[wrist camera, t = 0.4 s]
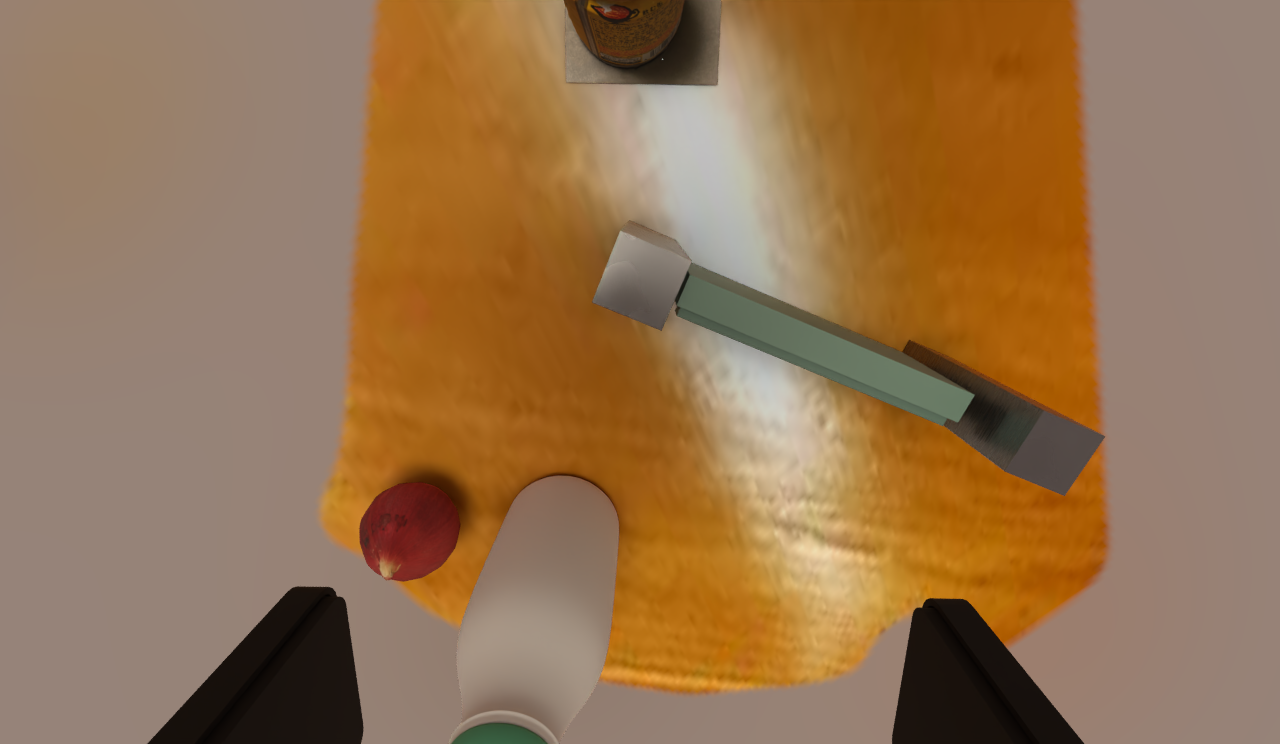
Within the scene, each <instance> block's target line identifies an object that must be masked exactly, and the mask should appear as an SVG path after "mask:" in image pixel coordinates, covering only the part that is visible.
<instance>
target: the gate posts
mask: <svg viewBox="0 0 1280 744" xmlns="http://www.w3.org/2000/svg"><path fill="white" fill-rule="evenodd" d="M691 262H692V261H691V259H690V258H689V257H688V255H687V254H686V253H685V252H684V250H683V249H682V248H681V246H680V245H679V244H678V243H677V241H676V240H674V239H672V238H670V237H667V236H665V235H663V234H660V233H658V232H656V231H653V230H651V229H648V228H646V227H644V226H641V225H639V224H637V223H634V222H632V221H630V220H629V221H628V223H627V224H626V225H625V226H624V227H623V228H622V229H621V230H620V233H619V235H618V238H617V240H616V243H615V245H614V248H613V250H612V253H611V255H610V258H609V261H608V263H607V266H606V268H605V271H604V273H603V276H602V278H601V281H600V283H599V286H598V288H597V291H596V293H595V296H594V299H593V301H592V302H593V303H595V304H598V305H600V306H602V307H605V308H607V309H610V310H612V311H615V312H617V313H620V314H622V315H624V316H627V317H629V318H632V319H634V320H637V321H639V322H642V323H644V324H646V325H649V326H651V327H654V328H656V329H659V330H661V331H662V328H663V326H664V324H665V322H666V319H667V317H668V315H669V312H670V310H671V308H672V305H673V303H674V301H675V298H676V296H677V294H678V292H679V289H680V287H681V285H682V282H683V280H684V278H685V275H686V273H687V271H688V268H689V266H690V264H691ZM903 353H905V354H906V355H908V356H910V357H911V358H913V359H915V360H916V361H918V362H920V363H922V364H923V365H925V366H927V367H928V368H930V369H932V370H933V371H935V372H937V373H939V374H940V375H942V376H944V377H945V378H947V379H949V380H951V381H952V382H954V383H956V384H957V385H959V386H961V387H962V388H964V389H966V390H968V391H969V392H971V393H973V394H974V397H973V399H972V400H971V402H970V404H969V405H968V407H967V409H966V410H965V412H964V414H963V415H962V417H961V419H960V420H959V422H955V421H953V420H951V419H948V418H947V420H946V421H945V423H944V426H945V427H946V428H948V429H949V430H950V431H952V432H953V433H954V434H956V435H957V436H958V437H960V438H961V439H962V440H964V441H965V442H966V443H968V444H969V445H970V446H972V447H973V448H974V449H976V450H977V451H978V452H980V453H981V454H982V455H984V456H985V457H986V458H988V459H989V460H990V461H992V462H993V463H994V464H996V465H997V466H998V467H1000V468H1001V469H1002V470H1004V471H1005V472H1008V473H1010V474H1013V475H1015V476H1017V477H1020V478H1022V479H1025V480H1027V481H1030V482H1032V483H1035V484H1037V485H1039V486H1042V487H1044V488H1047V489H1049V490H1052V491H1054V492H1057V493H1059V494H1061V495H1064V496H1065V494H1066V493H1067V491H1068V490H1069V489H1070V487H1071V486H1072V484H1073V483H1074V481H1075V480H1076V478H1077V477H1078V475H1079V474H1080V473H1081V471H1082V470H1083V468H1084V467H1085V465H1086V464H1087V462H1088V461H1089V459H1090V458H1091V456H1092V455H1093V454H1094V452H1095V451H1096V449H1097V448H1098V446H1099V445H1100V443H1101V442H1102V440H1103V439H1104V438H1105V436H1103V435H1101V434H1099V433H1097V432H1096V431H1094V430H1092V429H1090V428H1088V427H1086V426H1084V425H1082V424H1080V423H1078V422H1076V421H1074V420H1072V419H1070V418H1068V417H1066V416H1064V415H1062V414H1060V413H1058V412H1056V411H1054V410H1052V409H1050V408H1049V407H1047V406H1045V405H1043V404H1041V403H1039V402H1037V401H1035V400H1033V399H1031V398H1029V397H1027V396H1025V395H1023V394H1021V393H1019V392H1017V391H1015V390H1013V389H1011V388H1009V387H1007V386H1005V385H1004V384H1002V383H1000V382H998V381H996V380H994V379H992V378H990V377H988V376H986V375H984V374H982V373H980V372H978V371H976V370H974V369H972V368H970V367H968V366H966V365H964V364H962V363H960V362H958V361H957V360H955V359H953V358H951V357H948V356H946V355H944V354H941V353H939V352H936V351H934V350H932V349H929V348H927V347H925V346H922V345H920V344H918V343H915V342H913V341H911V340H909V342H908V344H907V345H906V347H905V349H904V351H903Z"/></svg>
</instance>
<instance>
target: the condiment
mask: <svg viewBox="0 0 1280 744" xmlns="http://www.w3.org/2000/svg"><path fill="white" fill-rule="evenodd" d="M564 3H565V36H566V43H565V44H566V45H565V49H566V82H577V83H618V84H625V83H628V84H681V85H684V84H705V85H717V84H718V60H719V38H720V17H721V0H564ZM662 58H663V59H664V60H662Z"/></svg>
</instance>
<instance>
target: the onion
mask: <svg viewBox="0 0 1280 744" xmlns="http://www.w3.org/2000/svg"><path fill="white" fill-rule="evenodd" d="M459 530H460V521H459V516H458V512H457V508H456V507H455V506H454V504H453V503H452V501H451V500H450V498H449V496H448V495H447V494H446V493H445V492H443V491H442V490H440V489H439V488H438V487H436V486H433V485H430V484H426V483H423V482H418V483H403V484H398V485H396V486H394V487H392V488H389V489H387V490H385V491H383V492H382V493H381V494H379V495H378V496H377V497H376V498H375V499H374V501H373V502H372V504H371V505H370V506H369V508H368V509H367V511H366V512H365V514H364V516H363V517H362V519H361V523H360V545H361V548H362V551H363V554H364V557H365V560H366V562H367V564H368V566H369V567H370V568H371V569H373V570H374V571H375V572H376V573H377V574H379V575H381V576H382V577H384V579H385V580H390V579H392V580H397V581H408V580H413V579H418V578H422V577H424V576H426V575H428V574H429V573H431V572H433V571H434V570H436V569H437V568H439V567H441V566H442V564H443V563H444V562H445V561H446V560H447V559H448V557H449V556H450V554H451V553H452V552H453V550H454V549H455V547H456V543H457V540H458V535H459Z"/></svg>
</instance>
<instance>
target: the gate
mask: <svg viewBox="0 0 1280 744" xmlns="http://www.w3.org/2000/svg"><path fill="white" fill-rule="evenodd" d="M675 302H676V305H677V308H676V310H675V311H676V315H677V316H678V317H681V318H683V319H685V320H688V321H690V322H693V323H695V324H698V325H700V326H702V327H705V328H707V329H710V330H712V331H714V332H717V333H719V334H722V335H724V336H727V337H729V338H731V339H734V340H736V341H739V342H741V343H743V344H746V345H748V346H751V347H753V348H756V349H758V350H760V351H763V352H765V353H768V354H770V355H773V356H775V357H777V358H780V359H782V360H785V361H787V362H789V363H792V364H794V365H797V366H799V367H802V368H804V369H806V370H809V371H811V372H814V373H816V374H818V375H821V376H823V377H826V378H828V379H831V380H833V381H835V382H838V383H840V384H843V385H845V386H847V387H850V388H852V389H855V390H857V391H860V392H862V393H864V394H867V395H869V396H872V397H874V398H877V399H879V400H881V401H884V402H886V403H889V404H891V405H893V406H896V407H898V408H901V409H903V410H906V411H908V412H910V413H913V414H915V415H918V416H920V417H922V418H925V419H927V420H930V421H932V422H935V423H937V424H939V425H942V426H943V425H944V423H945V421H946V420H947V418H948V419H951V420H953V421H955V422H959V420H960V419H961V417H962V415H963V414H964V412H965V410H966V409H967V407H968V405H969V404H970V402H971V400H972V399H973V397H974V394H973V393H971V392H969V391H968V390H966V389H964V388H962V387H961V386H959V385H957V384H956V383H954V382H952V381H951V380H949V379H947V378H945V377H944V376H942V375H940V374H939V373H937V372H935V371H933V370H932V369H930V368H928V367H927V366H925V365H923V364H922V363H920V362H918V361H916V360H915V359H913V358H911V357H910V356H908V355H906V354H905V353H903V352H900V351H898V350H896V349H893V348H891V347H889V346H886V345H884V344H882V343H879V342H877V341H874V340H872V339H870V338H867V337H865V336H863V335H860V334H858V333H856V332H853V331H851V330H849V329H846V328H844V327H841V326H839V325H837V324H834V323H832V322H830V321H827V320H825V319H823V318H820V317H818V316H816V315H813V314H811V313H808V312H806V311H804V310H801V309H799V308H797V307H794V306H792V305H790V304H787V303H785V302H783V301H780V300H778V299H775V298H773V297H771V296H768V295H766V294H764V293H761V292H759V291H757V290H754V289H752V288H750V287H747V286H745V285H742V284H740V283H738V282H735V281H733V280H731V279H728V278H726V277H724V276H721V275H719V274H717V273H714V272H712V271H709V270H707V269H705V268H702V267H700V266H698V265H695V264H693V263H691V264H690V266H689V268H688V271H687V273H686V275H685V278H684V280H683V282H682V285H681V287H680V289H679V292H678V294H677V296H676V298H675Z"/></svg>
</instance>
